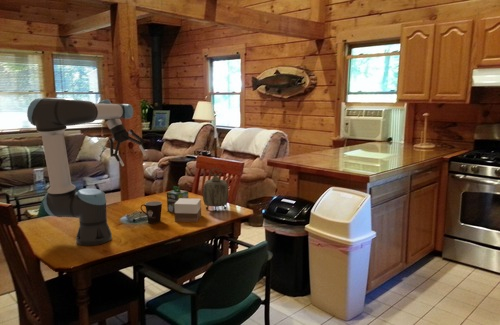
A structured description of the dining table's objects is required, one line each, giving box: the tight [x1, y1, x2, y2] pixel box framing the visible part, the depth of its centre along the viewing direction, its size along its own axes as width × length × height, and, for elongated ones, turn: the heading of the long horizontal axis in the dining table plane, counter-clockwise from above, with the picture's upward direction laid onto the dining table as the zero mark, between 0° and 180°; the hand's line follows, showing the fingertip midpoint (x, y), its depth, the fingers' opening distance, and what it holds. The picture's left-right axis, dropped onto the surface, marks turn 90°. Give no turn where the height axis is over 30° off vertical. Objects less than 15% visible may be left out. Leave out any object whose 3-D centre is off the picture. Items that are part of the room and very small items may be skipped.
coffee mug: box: [139, 200, 163, 224], centre depth 205 cm, size 12×9×10 cm
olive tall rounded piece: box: [202, 168, 229, 213], centre depth 223 cm, size 14×9×25 cm, turn 92°
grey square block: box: [174, 207, 202, 223], centre depth 211 cm, size 12×12×5 cm
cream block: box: [174, 197, 202, 214], centre depth 210 cm, size 12×12×5 cm
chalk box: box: [166, 185, 189, 214], centre depth 224 cm, size 9×9×15 cm
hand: (134, 160), depth 214 cm, fingers open, 13 cm apart
